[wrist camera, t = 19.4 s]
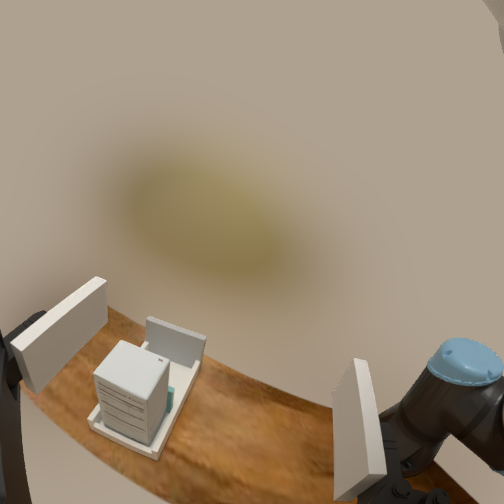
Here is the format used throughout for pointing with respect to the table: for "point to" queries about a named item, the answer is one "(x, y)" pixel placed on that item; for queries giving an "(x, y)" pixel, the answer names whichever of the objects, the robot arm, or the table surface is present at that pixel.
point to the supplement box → (133, 391)
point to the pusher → (170, 399)
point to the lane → (180, 377)
